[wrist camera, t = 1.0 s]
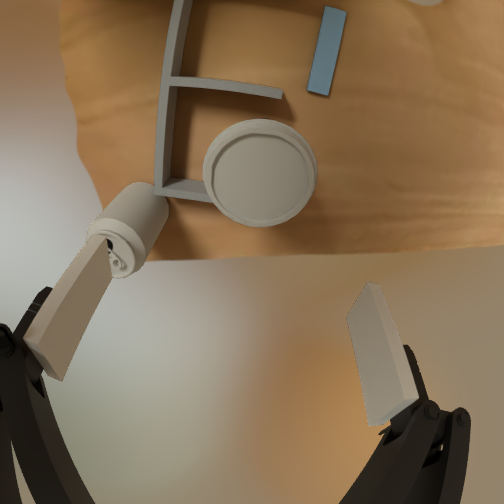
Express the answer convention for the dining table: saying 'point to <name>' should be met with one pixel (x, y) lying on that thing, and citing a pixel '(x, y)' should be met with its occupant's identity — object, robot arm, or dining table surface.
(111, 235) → the can
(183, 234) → the dining table surface
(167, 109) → the comb rack
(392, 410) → the robot arm
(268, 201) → the disposable coffee cup
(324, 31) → the blue rectangular block
